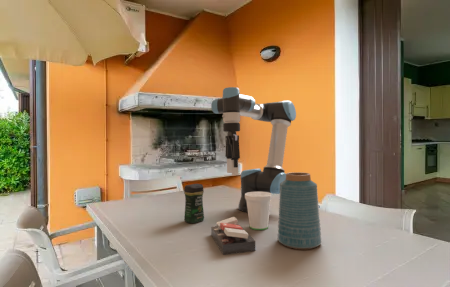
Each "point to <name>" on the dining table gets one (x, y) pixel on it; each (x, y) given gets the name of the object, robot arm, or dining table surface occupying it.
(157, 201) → the dining table surface
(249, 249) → the rocker switch panel
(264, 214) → the cup
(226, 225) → the rocker
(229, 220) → the rocker
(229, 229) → the rocker
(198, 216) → the coffee jar
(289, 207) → the vase
